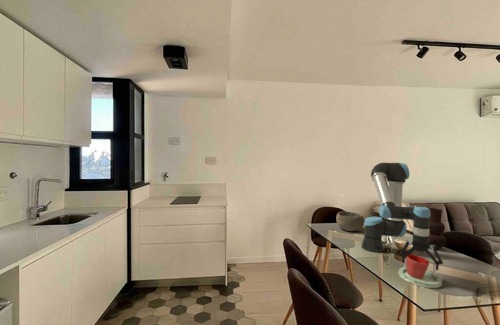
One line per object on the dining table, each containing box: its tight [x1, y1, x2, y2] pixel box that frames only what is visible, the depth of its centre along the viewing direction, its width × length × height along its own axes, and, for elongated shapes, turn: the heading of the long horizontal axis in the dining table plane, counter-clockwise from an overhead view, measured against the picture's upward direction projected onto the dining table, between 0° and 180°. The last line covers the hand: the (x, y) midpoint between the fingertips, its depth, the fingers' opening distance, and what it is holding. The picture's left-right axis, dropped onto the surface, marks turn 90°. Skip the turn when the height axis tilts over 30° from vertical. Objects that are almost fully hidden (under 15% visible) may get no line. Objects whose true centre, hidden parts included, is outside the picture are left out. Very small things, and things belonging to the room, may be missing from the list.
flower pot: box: [406, 253, 430, 279], centre depth 137 cm, size 11×11×10 cm
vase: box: [429, 207, 448, 251], centre depth 184 cm, size 15×15×30 cm
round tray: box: [398, 266, 443, 289], centre depth 136 cm, size 20×20×2 cm
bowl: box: [335, 211, 365, 232], centre depth 227 cm, size 24×24×15 cm
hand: (419, 272), depth 136 cm, fingers open, 13 cm apart
